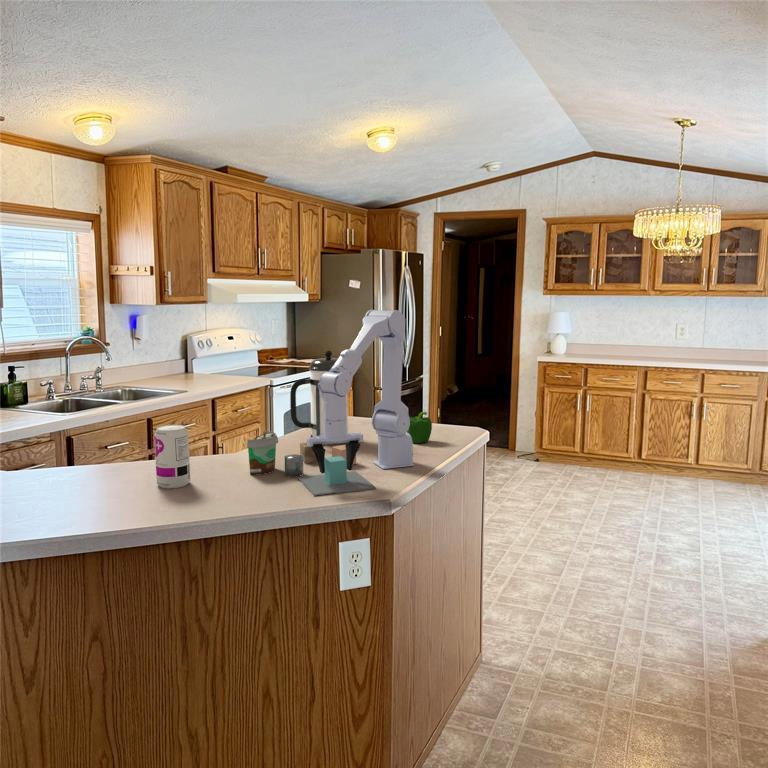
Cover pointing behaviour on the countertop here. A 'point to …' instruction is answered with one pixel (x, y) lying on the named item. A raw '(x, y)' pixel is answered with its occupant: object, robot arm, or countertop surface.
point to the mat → (321, 487)
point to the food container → (262, 453)
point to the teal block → (335, 470)
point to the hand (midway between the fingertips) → (335, 471)
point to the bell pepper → (420, 428)
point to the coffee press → (314, 395)
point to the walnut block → (307, 453)
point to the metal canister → (293, 465)
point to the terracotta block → (340, 452)
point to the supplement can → (172, 456)
